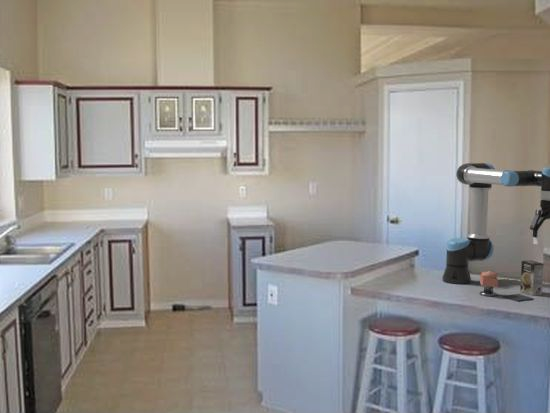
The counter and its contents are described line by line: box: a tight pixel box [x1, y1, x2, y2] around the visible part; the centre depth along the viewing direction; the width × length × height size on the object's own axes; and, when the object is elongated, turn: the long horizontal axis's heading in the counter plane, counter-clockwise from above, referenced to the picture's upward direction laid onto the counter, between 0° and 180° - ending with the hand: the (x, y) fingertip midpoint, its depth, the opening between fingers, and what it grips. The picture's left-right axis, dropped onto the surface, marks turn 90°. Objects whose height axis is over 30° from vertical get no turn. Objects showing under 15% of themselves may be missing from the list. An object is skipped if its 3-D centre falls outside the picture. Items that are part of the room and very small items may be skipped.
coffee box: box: [519, 260, 545, 296], centre depth 326 cm, size 9×6×16 cm
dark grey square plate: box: [502, 293, 535, 302], centre depth 316 cm, size 10×10×1 cm
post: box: [479, 286, 498, 298], centre depth 322 cm, size 8×8×9 cm
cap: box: [479, 271, 499, 288], centre depth 322 cm, size 7×7×7 cm
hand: (546, 243), depth 310 cm, fingers open, 13 cm apart
